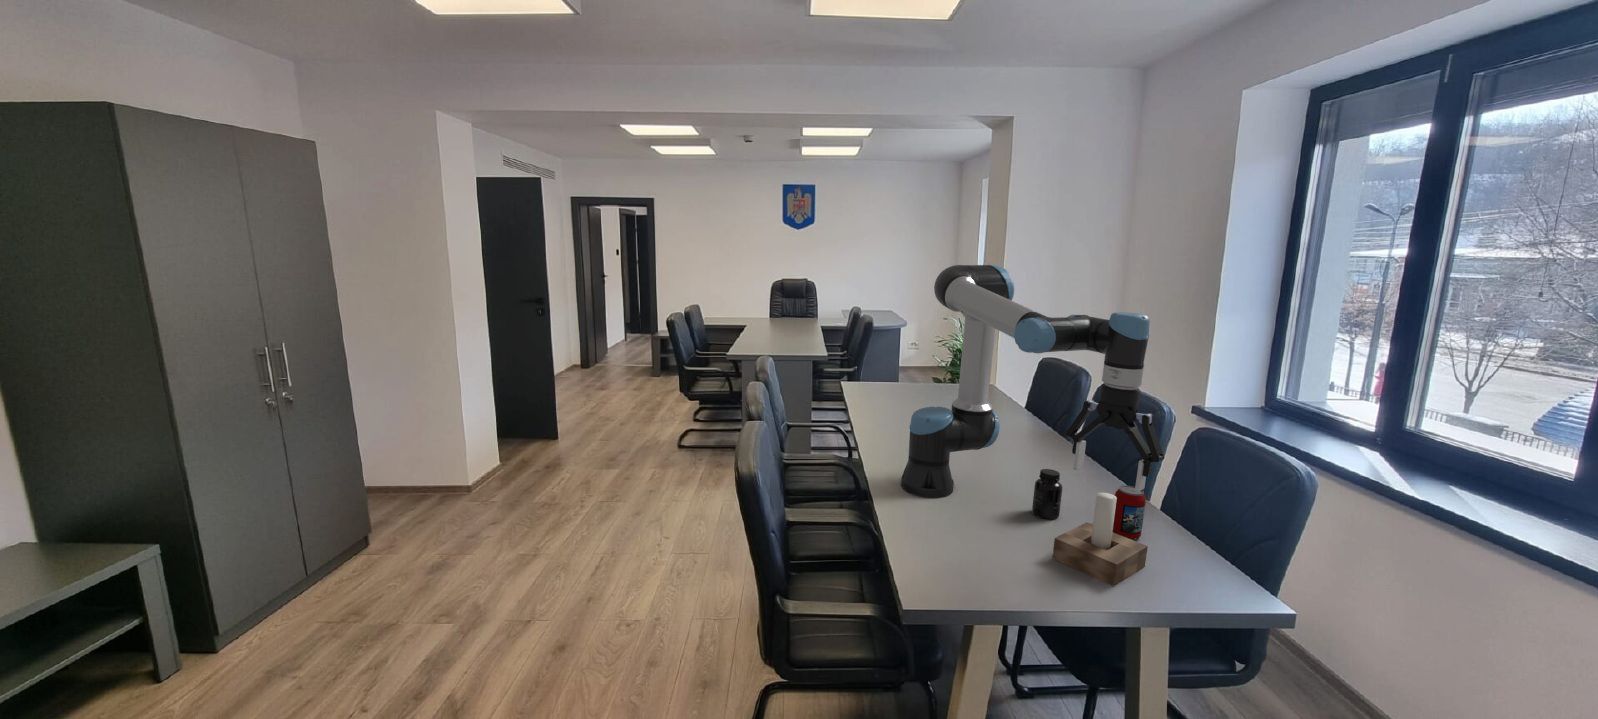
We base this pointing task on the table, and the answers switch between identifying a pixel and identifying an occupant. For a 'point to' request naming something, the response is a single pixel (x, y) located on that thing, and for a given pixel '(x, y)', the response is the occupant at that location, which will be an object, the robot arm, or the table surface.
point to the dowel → (1103, 520)
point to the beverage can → (1129, 512)
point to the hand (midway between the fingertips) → (1107, 478)
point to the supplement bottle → (1047, 495)
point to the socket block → (1100, 555)
